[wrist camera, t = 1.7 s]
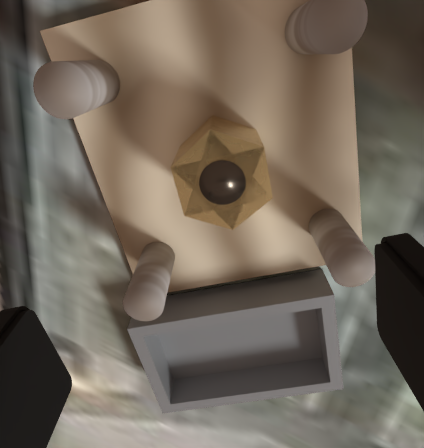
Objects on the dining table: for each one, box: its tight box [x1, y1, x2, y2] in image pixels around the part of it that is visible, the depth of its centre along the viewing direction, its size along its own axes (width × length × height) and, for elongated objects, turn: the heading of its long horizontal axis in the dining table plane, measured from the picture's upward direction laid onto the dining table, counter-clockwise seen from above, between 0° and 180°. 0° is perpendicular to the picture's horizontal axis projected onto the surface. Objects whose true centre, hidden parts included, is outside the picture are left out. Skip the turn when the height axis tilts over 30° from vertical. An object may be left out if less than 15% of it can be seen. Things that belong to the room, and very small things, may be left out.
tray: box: [127, 269, 343, 413], centre depth 30 cm, size 16×10×4 cm, turn 103°
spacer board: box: [33, 0, 375, 321], centre depth 22 cm, size 18×20×7 cm
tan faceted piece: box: [170, 115, 273, 230], centre depth 22 cm, size 5×6×5 cm
